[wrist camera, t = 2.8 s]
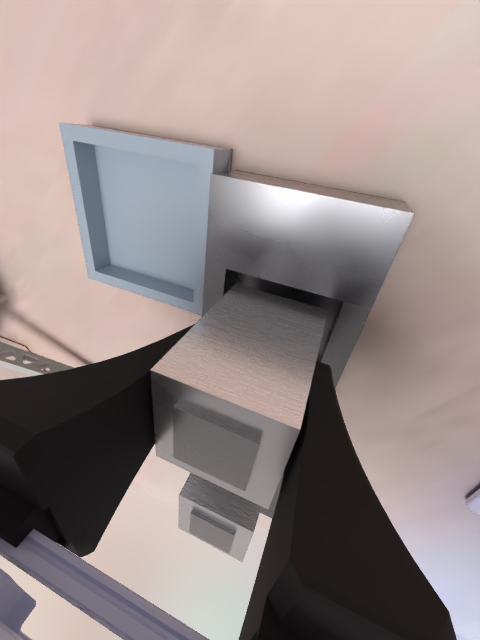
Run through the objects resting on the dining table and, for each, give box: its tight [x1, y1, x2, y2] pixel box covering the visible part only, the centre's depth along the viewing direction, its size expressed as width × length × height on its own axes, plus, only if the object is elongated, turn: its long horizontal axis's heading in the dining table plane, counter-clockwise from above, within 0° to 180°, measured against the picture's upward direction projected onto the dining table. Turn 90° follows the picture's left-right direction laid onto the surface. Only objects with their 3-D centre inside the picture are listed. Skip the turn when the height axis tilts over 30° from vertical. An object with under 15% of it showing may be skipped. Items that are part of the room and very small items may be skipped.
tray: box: [59, 123, 232, 315], centre depth 14 cm, size 8×8×2 cm
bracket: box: [0, 342, 73, 376], centre depth 23 cm, size 3×21×10 cm, turn 64°
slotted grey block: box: [179, 473, 261, 562], centre depth 17 cm, size 4×4×6 cm
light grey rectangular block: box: [150, 284, 328, 509], centre depth 10 cm, size 4×4×6 cm
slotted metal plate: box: [202, 170, 414, 518], centre depth 17 cm, size 7×22×2 cm, turn 172°
